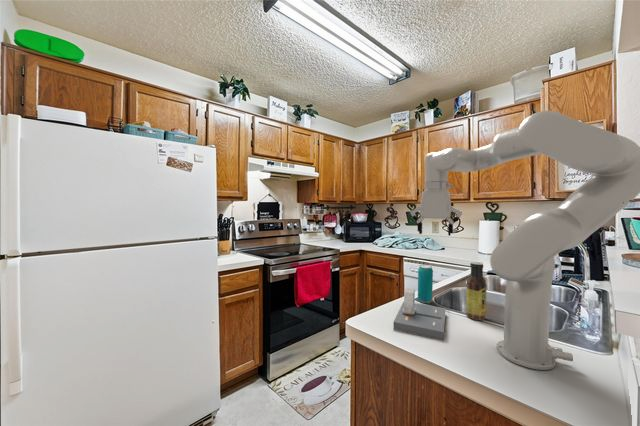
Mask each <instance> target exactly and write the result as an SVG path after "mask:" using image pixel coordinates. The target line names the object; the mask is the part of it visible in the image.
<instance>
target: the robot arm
mask: <svg viewBox="0 0 640 426" xmlns="http://www.w3.org/2000/svg"><path fill="white" fill-rule="evenodd" d="M492 141H493V142H491V143H489V144H488V145H485V146H482V147H478V148H474V149H466V148H465V149H464V148H458V147H449V148H446V149H443V150H441V151H433V152H429V153H427V154H426V155H425V158H424V190H423V191H422V193H421V198H420V206H418V207H416V208H413V209H412V210H410V211H409V214H410V215H411V216H412V219H413V220H414V221H415V222H416V223H417V232H418V234H419V235H422V234H423V222H422V221H423V220H424V219H436V220H437V219H439V220H441V219H442V220H444V219H445V220H447V222H448V230H447V232H448V233H447V235H448V236H451V234H453V232H454V224H455V223H456V222H458V221H459V219H460V218H461V217H462V215H463V212H462V211H460V210H459V209H456V208H455V207H453V206H452V200H451V192H450V190H449V189H450V188H451V189H452V188H453V183H449V182H448V174H449V173H448V171H449V172H458V173H459V172H460V173H472V172H476V171H477V172H478V171H481V170H487V169H490V168H493V167H496V166H499V165H502V164H504V163H507V162H511V161H515V160H520V159H524V158H529V157H534V156H538V155H543V156H545V157H548V158H550V159H552V160H554V161H556V162H558V163H560V164H563V165H564V166H566V167H569V168H571V169H573V170H576V171H578V172H582V173H587V174H590V177H589V178H588V180H586V181H585V182H584V183H583V184H582V185H580V186H579V187H577V188H576V189H575V190H574V191H573V192H572V193H570V195H569V196H568V197H567V198H566V199H564V200H562V202H561V203H560V204H559V205H558V206H556V207H555V208H554V209H552V210H543V211H539V212H536V213H533V214H532V215H530V216H528V217H527V218H525V219H524V220H523V221H521V222H520V223H518V225H517V226H516V227H515V228H514V229H513V230H512V231H511V232H510V233H509V234H508V235H507V236H505V238H504V239H503V240H502V241H500V242H499V243H498V244H497V246H495V248H494V249H493V250H492V252H491V254H490V260H489V263H490V267H491V270H492V271H493V272H494V274H495V275H496V276H498V277H499V278H501V279H502V280H505V281H506V284H505V292H504V293H505V295H504V320H503V321H504V322H503V325H504V326H503V340H500V341H498V342H497V343H496V351H498V353H499V354H500V356H502V357H503V358H505V359H507V360H508V361H509V362H512V363H514V364H516V365H519V366H522V367H525V368H529V369H532V370H540V371H549V370H552V369H554V368H555V367H556V364H557V363H556V360H557V359H559V360H560V359H561V360H563V361H568V362H573V361H574V356H573V354H572V353H571V352H566V351H563V348H561V347H556V346H555V347H554V346H552V345H550V343H549V338H550V337H549V336H550V335H549V333H550V315H551V314H550V309H551V308H550V307H551V294H552V284H553V279H554V273H555V267H556V261H555V257H556V256H558V254H560V253H561V252H563V251H566V250H571V249H573V248H576V247H578V246H580V245H581V244H582V243H584V241H586V240H587V239H588V238H589V237H590V236H591V235H592V234H593V233H595V232H596V231H597V230H599V229H600V228H601V227H602V226H604V225H605V224H606V223H608V221H610V220H611V219H612V218H614V217H615V216H616V215H617V214H618V213H620V212H621V211H622V210H623V209H622V205H623V202H624V208H625V207H626V206H628V205H630V203H631V202H630V201H629V200H632V201H634V199H635V198H637V197H638V196H639V195H640V145H638V144H637V142H635V141H633V140H632V139H630V138H628V137H626V136H623V135H620V134H618V133H615V132H613V131H609V130H606V129H603V128H601V127H598V126H595V125H592V124H588V123H586V122H583V121H581V120H577V119H574V118H572V117H569V116H568V115H565V114H563V113H560V112H557V111H553V110H542V111H538V112H535V113H533V114H531V115H529V116H528V117H526V118H525V119H523V121H522V122H521V123H520V125H519V126H517V127H515V128H511V129H508V130H505V131H501V132H498V133H497V134H495V136H494V138H493V140H492ZM417 212H419V215H420V216H419V217H418V216H417V215H416V213H417ZM452 212H453V213H454V214H456V215H455V217H454V218H453V219H452V218H451V216H452V214H451V213H452Z"/></svg>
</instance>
